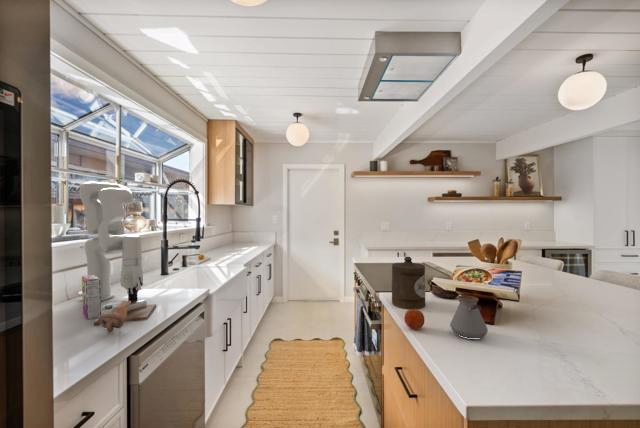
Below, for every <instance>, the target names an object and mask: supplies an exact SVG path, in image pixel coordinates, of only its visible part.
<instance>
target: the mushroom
mask: <svg viewBox="0 0 640 428" xmlns="http://www.w3.org/2000/svg"><path fill="white" fill-rule="evenodd" d="M98 319H99V323H100V324H101V325H100V326H101V327H102V328H104V329H106V330H107V332H108V334H112V333H113V332H114V330H115V329H118V330H119V329H121V328H122V327H123V326H124V325H125V324H124V323H125V322H124V319H123V317H122V316H121V315H120V314H118V313H117V312H108V313H104V314H102V315H101V316H100V317H98Z"/></svg>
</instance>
